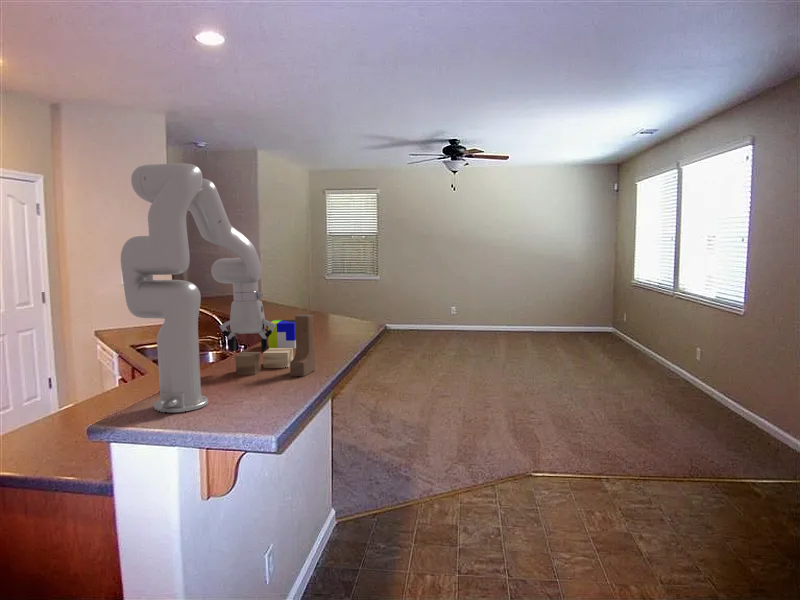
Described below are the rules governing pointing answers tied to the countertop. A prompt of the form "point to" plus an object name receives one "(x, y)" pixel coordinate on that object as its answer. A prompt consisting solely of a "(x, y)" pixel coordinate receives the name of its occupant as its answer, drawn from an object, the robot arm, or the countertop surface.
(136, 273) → the robot arm
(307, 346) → the wooden block
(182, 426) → the countertop surface
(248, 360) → the walnut cube
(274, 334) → the puzzle toy
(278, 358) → the oak block
